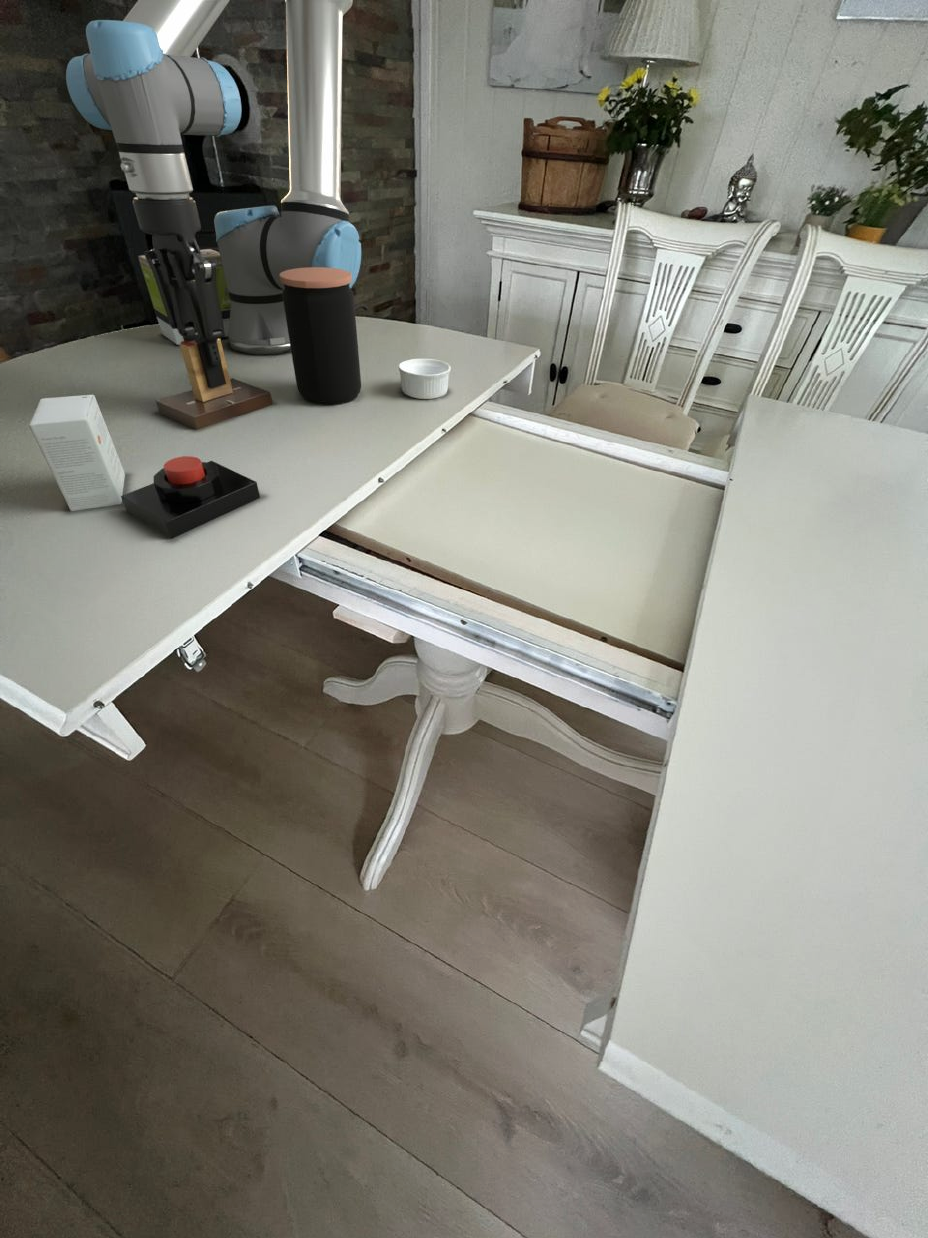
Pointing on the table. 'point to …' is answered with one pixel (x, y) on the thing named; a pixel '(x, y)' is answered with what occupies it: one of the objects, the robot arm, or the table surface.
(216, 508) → the button block
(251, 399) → the panel
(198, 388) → the handle
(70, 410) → the small box
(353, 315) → the coffee jar
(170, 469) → the button
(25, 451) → the table surface
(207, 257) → the tea box
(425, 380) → the ramekin
